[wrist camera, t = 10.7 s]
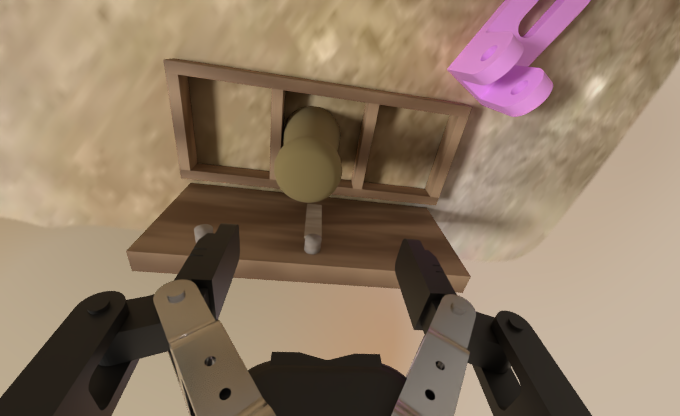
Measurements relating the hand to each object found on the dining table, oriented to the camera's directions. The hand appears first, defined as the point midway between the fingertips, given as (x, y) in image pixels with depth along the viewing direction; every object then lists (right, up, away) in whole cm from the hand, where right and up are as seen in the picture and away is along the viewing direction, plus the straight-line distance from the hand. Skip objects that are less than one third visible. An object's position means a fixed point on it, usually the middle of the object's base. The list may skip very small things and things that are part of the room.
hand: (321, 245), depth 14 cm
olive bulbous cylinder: (-2, +10, +16) cm, 19 cm away
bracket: (+17, +19, +12) cm, 28 cm away
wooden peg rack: (-1, +8, +17) cm, 19 cm away
